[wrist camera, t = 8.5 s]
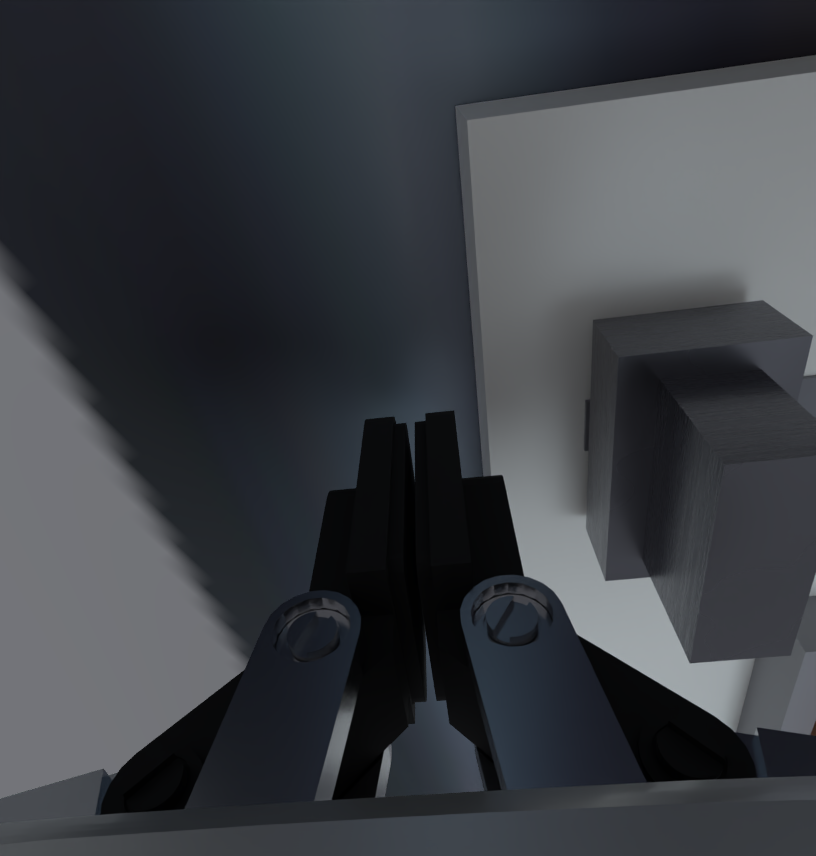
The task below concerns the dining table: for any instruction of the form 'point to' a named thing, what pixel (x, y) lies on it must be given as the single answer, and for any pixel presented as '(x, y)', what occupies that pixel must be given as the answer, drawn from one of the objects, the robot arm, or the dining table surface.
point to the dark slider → (706, 472)
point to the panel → (632, 312)
